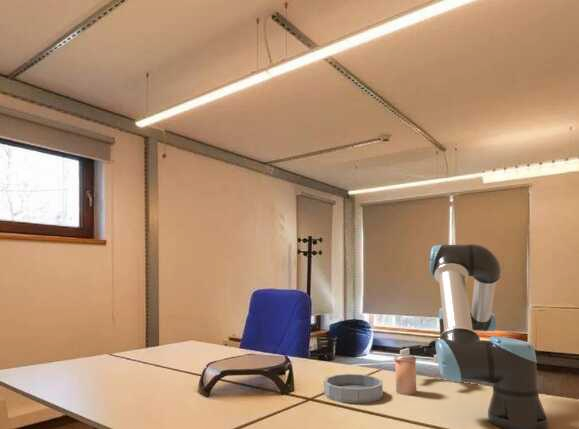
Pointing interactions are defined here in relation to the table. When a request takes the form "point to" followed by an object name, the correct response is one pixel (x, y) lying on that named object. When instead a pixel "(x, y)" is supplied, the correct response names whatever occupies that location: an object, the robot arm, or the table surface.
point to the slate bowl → (353, 388)
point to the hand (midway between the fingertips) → (417, 356)
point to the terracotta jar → (405, 374)
